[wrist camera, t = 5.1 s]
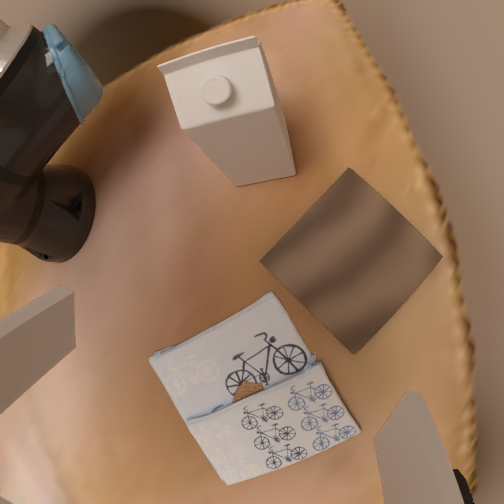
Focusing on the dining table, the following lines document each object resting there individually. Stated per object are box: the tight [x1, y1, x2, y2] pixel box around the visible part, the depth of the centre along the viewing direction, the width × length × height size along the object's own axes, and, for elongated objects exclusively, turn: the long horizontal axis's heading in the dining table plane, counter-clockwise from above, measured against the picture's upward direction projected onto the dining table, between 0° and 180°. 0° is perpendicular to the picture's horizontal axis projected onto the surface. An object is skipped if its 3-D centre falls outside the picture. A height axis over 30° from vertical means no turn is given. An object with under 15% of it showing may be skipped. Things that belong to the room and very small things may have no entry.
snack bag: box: [148, 291, 361, 486], centre depth 33 cm, size 19×20×2 cm
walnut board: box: [260, 168, 443, 355], centre depth 32 cm, size 14×14×2 cm
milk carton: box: [158, 36, 296, 186], centre depth 27 cm, size 7×7×19 cm
